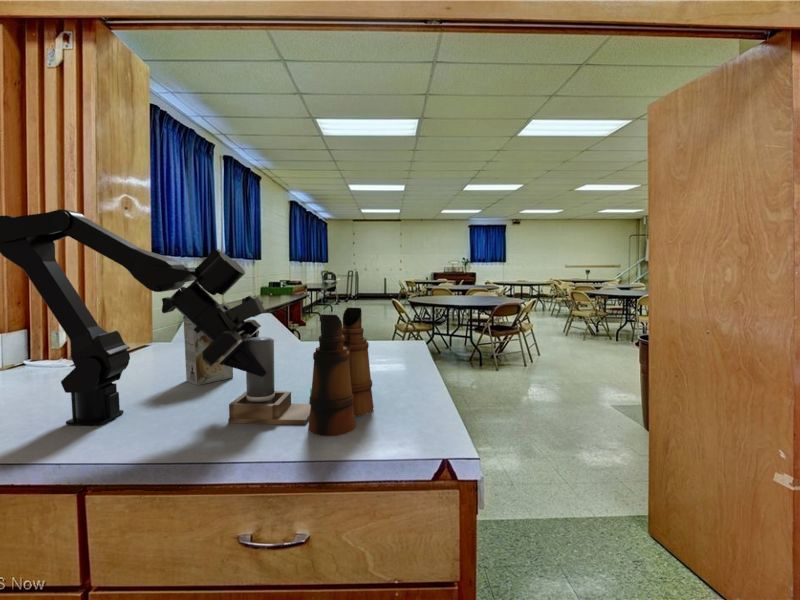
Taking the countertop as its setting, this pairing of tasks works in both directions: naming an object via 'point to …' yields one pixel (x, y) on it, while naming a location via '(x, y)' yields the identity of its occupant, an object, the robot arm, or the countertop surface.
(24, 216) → the robot arm
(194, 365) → the coffee box
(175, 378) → the countertop surface
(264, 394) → the grey round-topped cylinder
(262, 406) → the brown square-cornered frame
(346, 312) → the binoculars
